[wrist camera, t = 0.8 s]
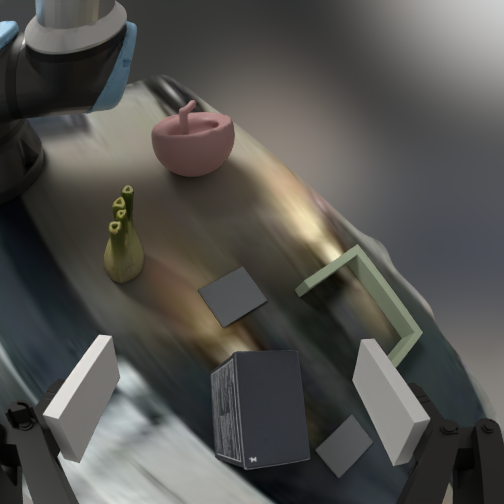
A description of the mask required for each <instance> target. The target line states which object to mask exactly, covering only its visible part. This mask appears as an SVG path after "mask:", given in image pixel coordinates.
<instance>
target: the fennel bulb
mask: <svg viewBox="0 0 504 504" xmlns="http://www.w3.org/2000/svg"><path fill="white" fill-rule="evenodd" d="M133 193H134V189H133V188H132V186H130V185H126V186H125V187H124V188H123V189H122V192H121V197H119V198H118V199H116V200H115V201H114V203H113V205H112V209H113V214H114V220H115V222H111V223H110V224H109V228H108V230H109V235H110V238H109V240H108V243H107V246H106V249H105V253H104V269H105V271H106V273H107V274H108V275H109V276H110V277H111V278H112V279H113V280H114V281H115V282H118V283H125V282H127V281H129V280H132V279H134V278H135V277H136V276H138V275H139V274H140V272H141V270H142V268H143V266H144V251H143V248H142V245H141V242H140V240H139V237H138V235H137V233H136V230H135V227H134V224H133V220H132V210H133Z"/></svg>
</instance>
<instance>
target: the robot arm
mask: <svg viewBox="0 0 504 504" xmlns="http://www.w3.org/2000/svg"><path fill="white" fill-rule="evenodd" d="M126 18H127V15H126V11H125V9H124V8H123V6H121V5H120V4H119V3H118V2H116V1H115V0H36V16H35V17H34V18H33V19H32V20H31V21H30V23H29V24H28V25H27V27H26V30H25V32H21V33H19V32H18V31H19V27H18V26H17V23H16V22H14V21H10V22H9V21H5V22H0V204H3V203H6V202H8V201H10V200H12V199H14V198H16V197H17V196H19V195H20V194H22V193H23V192H24V191H25V190H26V189H27V188H29V187H30V185H31V184H32V183H33V182H34V181H35V180H36V178H37V177H38V175H39V173H40V171H41V169H42V166H43V162H44V153H43V148H42V143H41V140H40V138H39V136H38V135H37V133H36V132H35V130H34V129H33V127H32V126H31V124H30V122H29V121H28V119H27V118H34V117H43V116H53V115H65V114H80V113H86V114H89V113H91V112H95V111H103V110H110V109H112V108H114V107H115V106H117V105H118V103H119V102H120V100H121V98H122V96H123V93H124V90H125V86H126V83H127V79H128V75H129V70H130V63H131V59H132V56H133V52H134V47H135V41H136V31H137V27H136V25H135V24H134V23H130V22H127V21H126ZM119 379H120V374H119V370H118V365H117V360H116V356H115V351H114V345H113V340H112V336H105V335H99V336H98V337H97V338H96V340H95V341H94V342H93V344H92V345H91V346H90V348H89V349H88V350H87V352H86V353H85V355H84V356H83V357H82V359H81V360H80V361H79V363H78V364H77V366H76V367H75V368H74V370H73V371H72V373H71V374H70V375H69V377H68V378H67V380H62V379H59V380H57V381H56V382H54V383H53V384H52V385H51V386H50V387H49V389H48V390H47V392H46V393H45V394H44V396H43V398H41V400H40V401H39V403H38V404H37V405H36V407H35V408H34V410H33V407H32V406H31V404H30V403H29V402H27V401H24V400H18V401H14V402H12V403H10V404H9V405H8V406H7V408H6V409H5V414H6V416H7V418H8V420H9V422H10V423H0V504H23V497H22V469H23V472H24V476H25V479H26V482H27V485H28V489H29V492H30V495H31V497H32V500H33V503H34V504H79V503H78V501H77V499H76V497H75V495H74V493H73V490H72V488H71V486H70V484H69V482H68V480H67V477H66V475H65V473H64V471H63V468H62V466H61V463H60V461H59V459H58V457H57V456H58V454H59V452H60V451H61V453H62V455H63V457H64V458H65V459H67V460H70V461H74V462H78V463H80V461H81V459H82V457H83V454H84V452H85V450H86V448H87V446H88V443H89V441H90V439H91V437H92V435H93V433H94V430H95V428H96V426H97V424H98V422H99V420H100V418H101V416H102V414H103V412H104V409H105V407H106V405H107V403H108V401H109V399H110V397H111V395H112V393H113V391H114V389H115V387H116V385H117V383H118V381H119ZM352 381H353V383H354V385H355V387H356V389H357V391H358V393H359V395H360V397H361V399H362V401H363V403H364V405H365V407H366V409H367V411H368V413H369V415H370V418H371V420H372V422H373V424H374V426H375V428H376V430H377V432H378V434H379V436H380V438H381V441H382V443H383V445H384V447H385V449H386V451H387V453H388V456H389V458H390V460H391V462H392V464H393V466H396V465H400V464H404V463H408V462H409V461H410V459H411V457H412V455H413V454H414V456H415V458H416V462H415V463H414V465H413V467H412V469H411V470H410V472H409V474H410V475H409V477H408V479H407V482H406V484H405V486H404V488H403V490H402V493H401V495H400V497H399V499H398V501H397V503H396V504H442V502H443V499H444V496H445V493H446V490H447V487H448V483H449V480H450V477H451V473H452V470H453V504H504V443H503V438H502V434H501V430H500V427H499V425H498V423H496V422H495V421H494V420H492V419H488V418H484V419H480V420H479V421H478V422H477V423H476V425H475V427H468V428H460V426H459V425H458V424H457V423H456V422H454V421H452V420H447V419H444V418H443V417H442V415H441V414H440V413H439V411H438V410H437V408H436V407H435V406H434V404H433V403H432V402H431V400H430V399H429V397H428V396H427V395H426V393H425V392H424V391H423V389H422V388H421V387H419V386H418V385H416V384H415V383H410V384H406V383H405V381H404V380H403V378H402V377H401V375H400V374H399V373H398V371H397V370H396V368H395V367H394V366H393V364H392V363H391V361H390V360H389V359H388V357H387V356H386V354H385V353H384V352H383V350H382V349H381V347H380V346H379V345H378V343H377V342H376V341H375V339H363V340H361V343H360V348H359V353H358V358H357V363H356V367H355V371H354V376H353V380H352Z"/></svg>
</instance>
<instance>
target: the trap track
mask: <svg viewBox="0 0 504 504" xmlns="http://www.w3.org/2000/svg"><path fill="white" fill-rule="evenodd" d="M346 264H347V265H348V266H349V267H350V269H351V270H352V271H353V272H354V274H355V275H356V276H357V278H358V279H359V280H360V282H361V283H362V284H363V286H364V287H365V288H366V290H367V291H368V292H369V294H370V295H371V296H372V298H373V299H374V300H375V302H376V303H377V305H378V306H379V307H380V309H381V310H382V311H383V313H384V314H385V316H386V317H387V318H388V320H389V321H390V322H391V324H392V325H393V327H394V328H395V329H396V331H397V332H398V334H399V335H400V337H401V338H402V339H401V340H400V341H399V343H398V344H397V345H396V346H395V347H394V348H393V350H392V351H391V352H390V353H389V354H388V356H387V357H388V359H389V360H390V361H391V363H392V364H393V366H394V367H395V368H396V367H397V366H398V365H399V363H400V362H401V361H402V360H403V358H404V357H405V356H406V354H407V353H408V352H409V351H410V349H411V348H412V347H413V345H414V344H415V343H416V341H417V340H418V339H419V337H420V336H421V335H422V333H423V332H422V331H421V329H420V328H419V327H418V325H417V324H416V322H415V321H414V319H413V318H412V316H411V315H410V314H409V312H408V311H407V309H406V308H405V307H404V305H403V304H402V302H401V301H400V300H399V298H398V297H397V295H396V294H395V293H394V291H393V290H392V289H391V287H390V286H389V285H388V283H387V282H386V281H385V279H384V278H383V276H382V275H381V274H380V273H379V271H378V270H377V269H376V267H375V266H374V265H373V263H372V262H371V261H370V259H369V258H368V257H367V256H366V254H365V253H364V252H363V250H362V249H361V248H360V247H359V245H358V244H357V245H356V246H355V247H353V248H352V249H350V250H349V251H347V252H346V253H344V254H343V255H342V256H340V257H339V258H337V259H336V260H334V261H333V262H331V263H330V264H328V265H327V266H325V267H324V268H322V269H321V270H320V271H318V272H317V273H315V274H314V275H312V276H311V277H309V278H308V279H306V280H305V281H303V282H302V283H301V284H300V285H299V286H298V287H297V288H296V289H295V292H296V293H297V294H298V296H299V297H301V296H302V295H304V294H305V293H306V292H308V291H309V290H311V289H312V288H314V287H315V286H316V285H318V284H319V283H321V282H322V281H323V280H325V279H326V278H328V277H329V276H330V275H332V274H333V273H335V272H336V271H337V270H339V269H340V268H342V267H343V266H344V265H346ZM198 292H199V293H200V295H201V296H202V298H203V299H204V301H205V302H206V304H207V305H208V307H209V308H210V310H211V311H212V313H213V314H214V315H215V317H216V318H217V320H218V321H219V323H220V324H221V326H222V327H223V328H224V327H225V326H227V325H229V324H230V323H232V322H234V321H235V320H237V319H239V318H240V317H242V316H243V315H245V314H247V313H248V312H250V311H251V310H253V309H255V308H256V307H258V306H259V305H261V304H263V303H264V302H266V301H267V299H266V298H265V296H264V295H263V293H262V292H261V291H260V289H259V288H258V287H257V285H256V284H255V282H254V281H253V280H252V278H251V277H250V276H249V274H248V273H247V271H246V270H245V269H244V267H243V266H242V267H240V268H239V269H237V270H235V271H233V272H231V273H229V274H227V275H225V276H224V277H222V278H220V279H218V280H216V281H214V282H212V283H210V284H208V285H207V286H205V287H203V288H201V289H199V290H198ZM372 443H373V441H372V440H371V439H370V437H369V436H368V435H367V434H366V432H365V431H364V430H363V428H362V427H361V426H360V424H359V423H358V422H357V420H356V419H355V418H354V416H353V415H352V414H351V415H350V416H349V417H348V418H347V419H346V420H345V421H344V422H343V423H342V424H341V425H340V426H339V427H338V428H337V429H336V430H335V431H334V432H333V433H332V434H331V435H330V436H329V437H328V438H327V439H325V440H324V441H323V442H322V443H321V444H320V445H319V446H318V447H317V448H316V449H315V451H316V453H317V454H318V455H319V456H320V457H321V459H322V460H323V461H324V462H325V463H326V465H327V466H328V467H329V468H330V469H331V471H332V472H333V473H334V474H335V475H336V477H337V478H340V477H341V476H342V475H343V474H344V473H345V472H346V471H347V470H348V469H349V468H350V467H351V466H352V465H353V464H354V463H355V462H356V460H357V459H358V458H359V457H360V456H361V455H362V454H363V453H364V452H365V451H366V450H367V448H368V447H369V446H370V445H371V444H372Z"/></svg>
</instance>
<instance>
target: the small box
mask: <svg viewBox="0 0 504 504" xmlns="http://www.w3.org/2000/svg"><path fill="white" fill-rule="evenodd" d="M210 387H211V405H212V419H213V423H212V424H213V434H214V445H215V457H216V458H217V459H218V460H223V461H225V462H228V463H231V464H234V465H236V466H240V467H243V468H244V469H246V470H249V469H256V468H264V467H271V466H277V465H283V464H289V463H294V462H300V461H305V460H309V459H310V450H309V441H308V432H307V424H306V415H305V407H304V398H303V390H302V382H301V373H300V365H299V357H298V351H296V350H284V351H236V352H234V353H233V354H232V356H230V358H228V359H227V360H226V361H224V362H223V363H222V364H220V365H219V366H218V367H216V368H215V369H214V370H212V371H211V372H210Z"/></svg>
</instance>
